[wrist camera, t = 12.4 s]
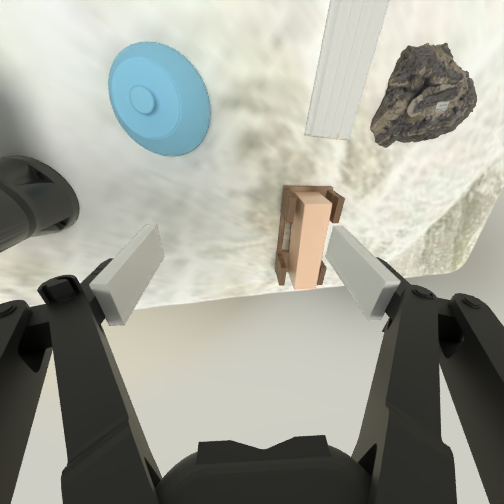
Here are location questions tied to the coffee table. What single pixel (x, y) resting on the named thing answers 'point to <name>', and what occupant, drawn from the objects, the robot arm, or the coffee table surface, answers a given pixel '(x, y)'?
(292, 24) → the coffee table surface
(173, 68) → the sugar bowl
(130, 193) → the coffee table surface
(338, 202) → the rack
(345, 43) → the baseboard
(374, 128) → the dark grey rock
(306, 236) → the peach rectangular block
